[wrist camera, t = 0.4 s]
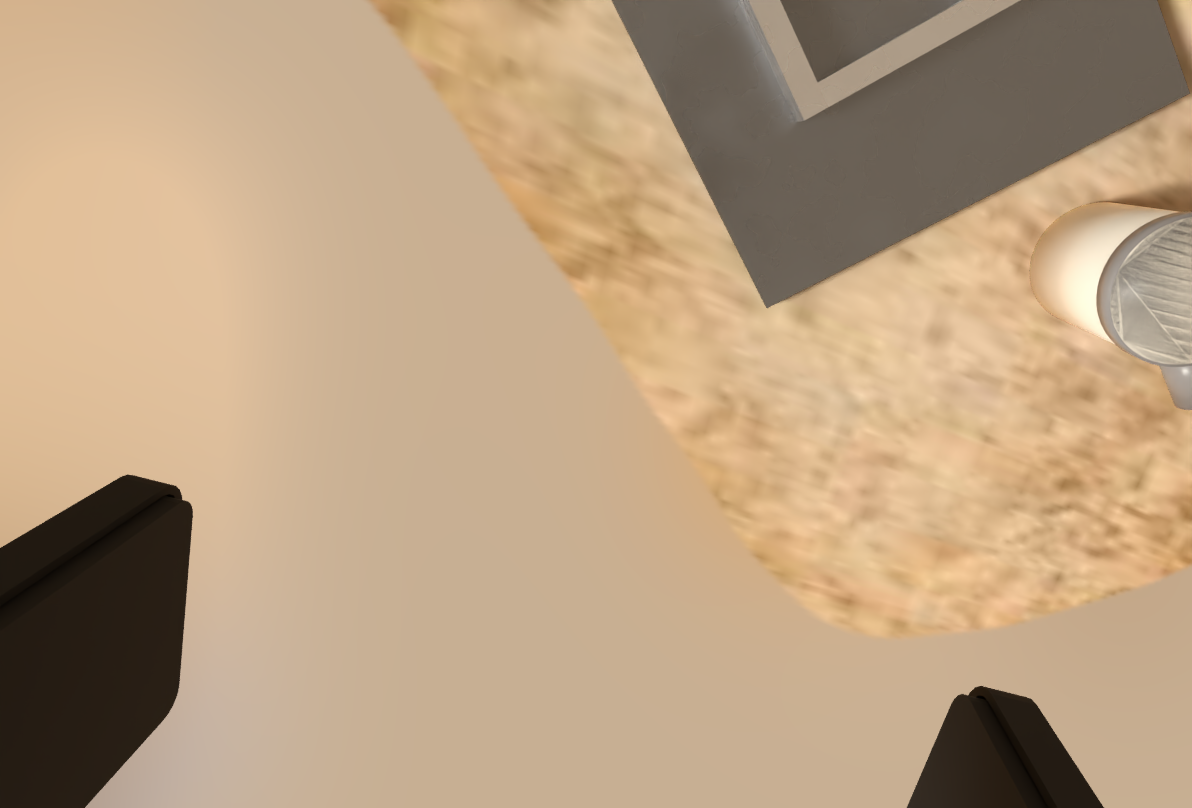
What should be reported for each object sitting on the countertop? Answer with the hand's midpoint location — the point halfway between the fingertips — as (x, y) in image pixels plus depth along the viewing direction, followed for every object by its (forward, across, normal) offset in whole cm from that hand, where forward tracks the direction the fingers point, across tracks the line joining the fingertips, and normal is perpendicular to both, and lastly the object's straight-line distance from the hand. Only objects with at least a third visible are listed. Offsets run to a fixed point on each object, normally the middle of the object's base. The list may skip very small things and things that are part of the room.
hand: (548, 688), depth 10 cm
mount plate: (+29, -6, -14) cm, 32 cm away
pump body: (+29, -19, -5) cm, 35 cm away
